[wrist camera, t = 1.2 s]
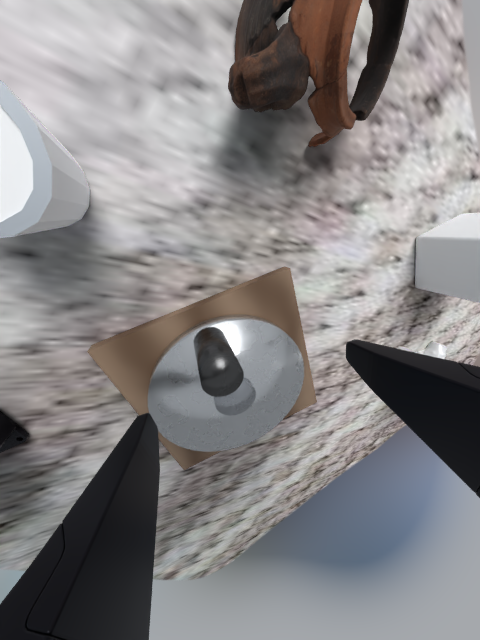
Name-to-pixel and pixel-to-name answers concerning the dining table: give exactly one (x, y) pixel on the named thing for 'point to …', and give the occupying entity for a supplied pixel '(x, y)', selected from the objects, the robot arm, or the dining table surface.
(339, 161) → the dining table surface
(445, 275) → the medicine bottle
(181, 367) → the handwheel
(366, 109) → the pottery mug
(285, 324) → the walnut board
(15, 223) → the shot glass
